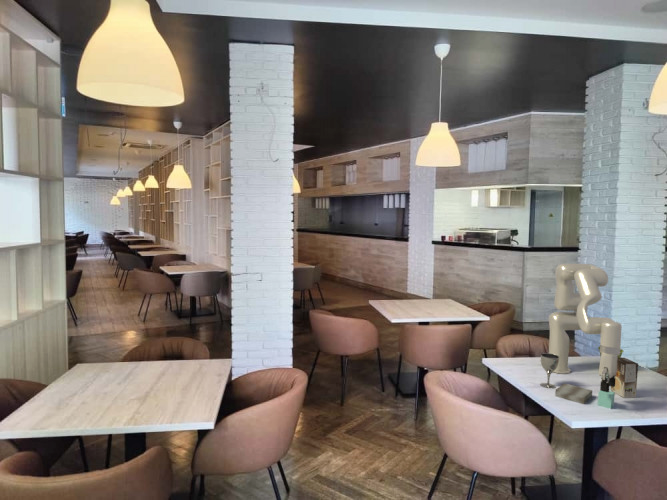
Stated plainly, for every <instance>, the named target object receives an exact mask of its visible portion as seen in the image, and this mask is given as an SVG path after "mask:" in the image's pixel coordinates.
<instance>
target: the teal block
mask: <svg viewBox="0 0 667 500" xmlns="http://www.w3.org/2000/svg"><path fill="white" fill-rule="evenodd" d="M615 395H616V393H615V392H613V391H611V390H609V392H604V391H601V390H599V391H598V397H597V406H599V407H603V408H606V409H609V408H610V409H612V408H613V407H614V406H615Z"/></svg>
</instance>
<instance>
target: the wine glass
mask: <svg viewBox="0 0 667 500" xmlns="http://www.w3.org/2000/svg"><path fill="white" fill-rule="evenodd" d="M540 359H541V362H540V365H541V366H542V368H543V370H544V371H545V372H546V374H547V382H541V383H540V384H539V385H540V386H541V387H542V388H546V389H550V390H551V389H557V386H556V385H555V384H554V383H553V384H552V383H550V380H551V379H550V377H551V374H552V373H554V372H553V371H554V370H555V369H556V368H557V366H558V363H559V356H557V355H555V354H550V353H549V352H542V353H541V354H540Z"/></svg>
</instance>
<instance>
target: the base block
mask: <svg viewBox="0 0 667 500" xmlns="http://www.w3.org/2000/svg"><path fill="white" fill-rule="evenodd" d="M554 396H555V397H557V398H560V399H563V400H567V401H571V402H575V403H578V404H581V405H585V404H586V403H587V402H589V401H590V399H592V397H593V390H591V389H588V388H584V387H580V386H577V385H573V384H568V383H563V384H561V385H560V386H559V387H558V388H557V387H556V388H555V394H554Z"/></svg>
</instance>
